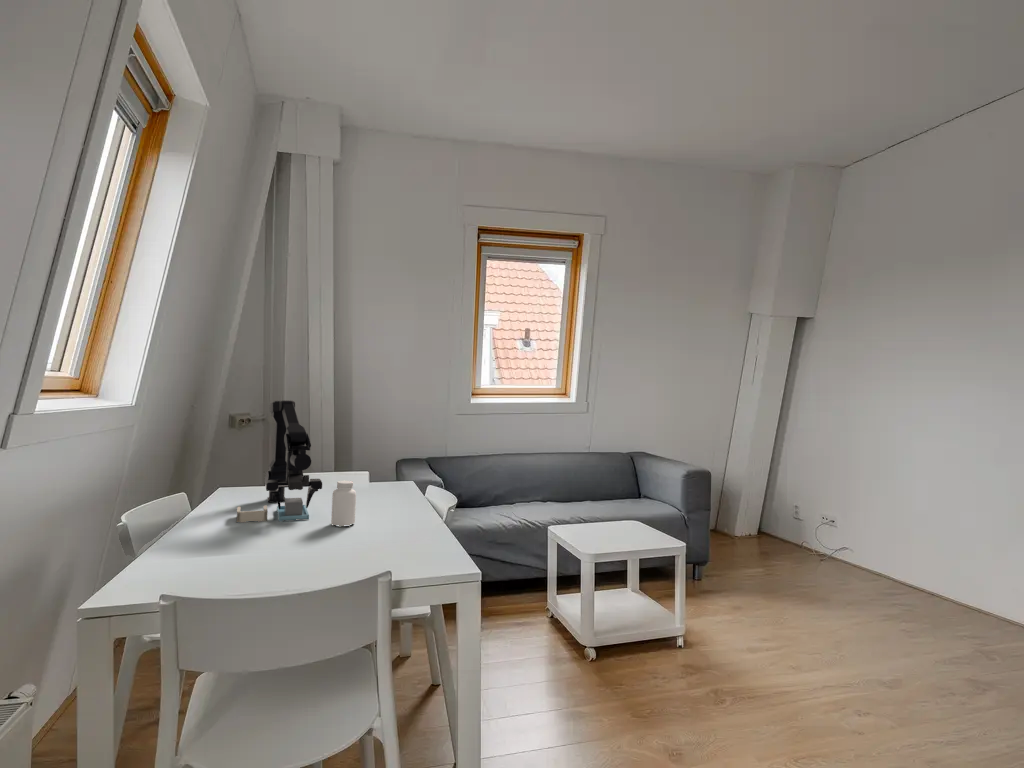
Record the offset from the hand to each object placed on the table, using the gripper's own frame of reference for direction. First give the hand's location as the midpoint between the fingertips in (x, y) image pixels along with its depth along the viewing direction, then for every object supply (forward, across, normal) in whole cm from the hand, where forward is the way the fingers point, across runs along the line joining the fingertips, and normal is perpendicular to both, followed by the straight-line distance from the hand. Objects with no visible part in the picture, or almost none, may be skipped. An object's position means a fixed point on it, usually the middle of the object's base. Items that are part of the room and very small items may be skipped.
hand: (293, 508), depth 213 cm
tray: (+3, 0, +2) cm, 4 cm away
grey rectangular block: (+2, 0, +2) cm, 3 cm away
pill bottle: (+3, +16, -14) cm, 21 cm away
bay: (+3, -14, 0) cm, 14 cm away
